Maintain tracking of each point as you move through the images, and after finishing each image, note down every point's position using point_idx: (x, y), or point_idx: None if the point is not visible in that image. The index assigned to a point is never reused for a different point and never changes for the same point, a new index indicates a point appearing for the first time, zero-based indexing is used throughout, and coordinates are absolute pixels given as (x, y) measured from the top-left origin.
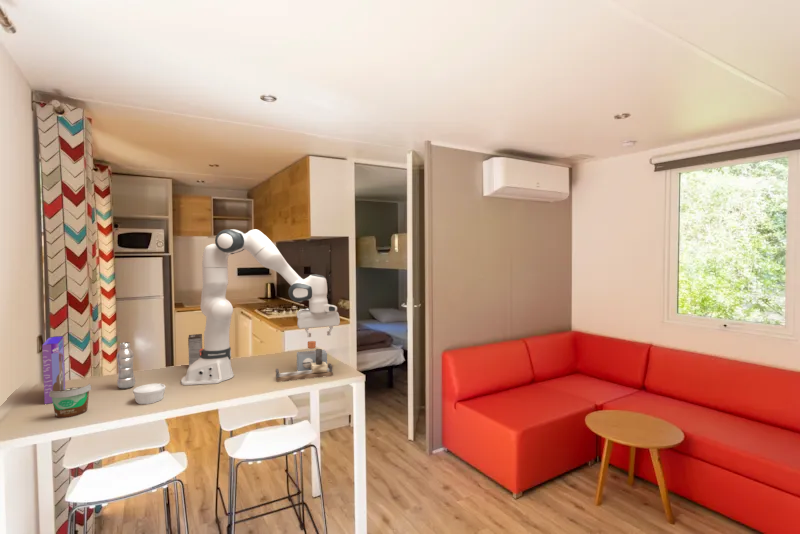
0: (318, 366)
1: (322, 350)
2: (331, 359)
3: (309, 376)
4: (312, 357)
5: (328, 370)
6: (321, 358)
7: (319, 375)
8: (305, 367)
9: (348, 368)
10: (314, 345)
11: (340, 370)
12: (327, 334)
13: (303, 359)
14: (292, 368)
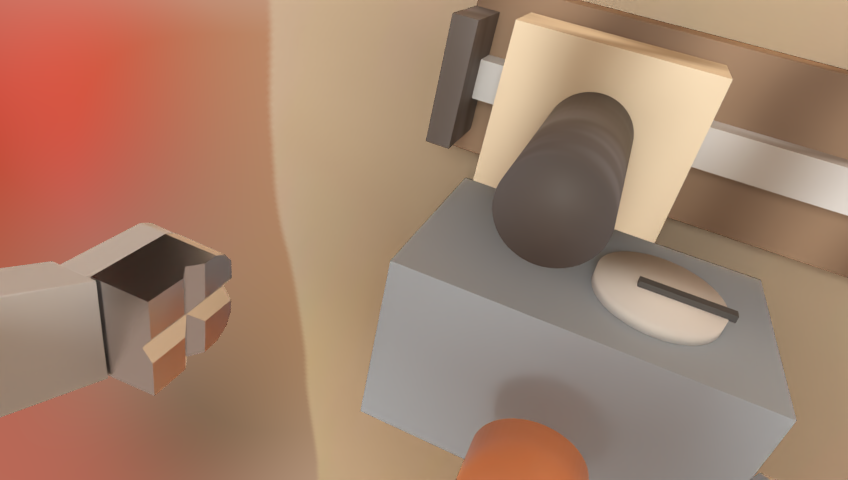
0: (644, 51)
1: (389, 396)
2: (315, 410)
3: (775, 54)
4: (591, 313)
5: (498, 60)
6: (554, 116)
7: (644, 20)
8: (695, 276)
9: (274, 116)
10: (497, 449)
11: (354, 107)
12: (211, 285)
13: (716, 352)
14: None
